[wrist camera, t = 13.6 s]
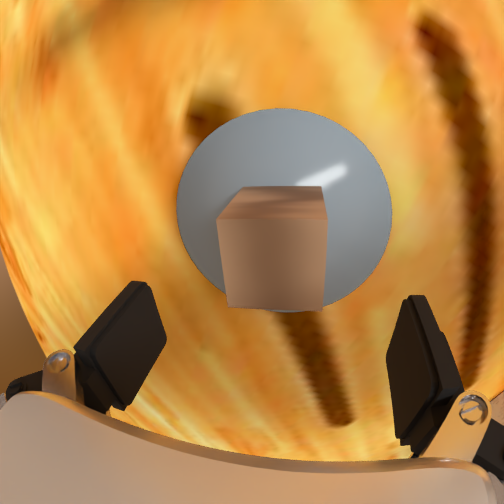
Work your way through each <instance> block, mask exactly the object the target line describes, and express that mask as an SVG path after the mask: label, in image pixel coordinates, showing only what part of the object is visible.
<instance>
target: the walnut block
mask: <svg viewBox="0 0 504 504" xmlns="http://www.w3.org/2000/svg"><path fill="white" fill-rule="evenodd" d="M216 223H217V231H218V239H219V246H220V254H221V261H222V269H223V276H224V283H225V290H226V297H227V303H228V307H234V308H250V309H269V310H294V311H322V308H323V296H324V283H325V269H326V252H327V229H328V218H327V213H326V207H325V202H324V197H323V192H322V187H321V186H251V187H242V189H241V190H240V191H239V192H238V193H237V195H236V196H235V197H234V198H233V199H232V201H231V202H230V203H229V204H228V205H227V207H226V208H225V209H224V210H223V212H222V213H221V214H220V215H219V216H218V218H217V219H216Z"/></svg>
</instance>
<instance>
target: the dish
mask: <svg viewBox="0 0 504 504" xmlns="http://www.w3.org/2000/svg"><path fill="white" fill-rule="evenodd" d="M251 186H321V187H322V192H323V197H324V202H325V207H326V213H327V218H328V229H327V252H326V269H325V283H324V296H323V307H324V306H326V305H329V304H332V303H334V302H336V301H338V300H340V299H342V298H344V297H345V296H347V295H348V294H350V293H351V292H353V291H354V290H355V289H356V288H358V287H359V286H360V285H361V284H362V283H363V282H364V281H365V280H366V279H367V278H368V277H369V276H370V274H371V273H372V272H373V270H374V269H375V268H376V266H377V265H378V263H379V261H380V259H381V257H382V255H383V253H384V251H385V249H386V246H387V243H388V240H389V236H390V230H391V224H392V205H391V197H390V193H389V188H388V184H387V182H386V179H385V177H384V174H383V172H382V169H381V168H380V166H379V164H378V163H377V161H376V159H375V158H374V156H373V155H372V154H371V152H370V151H369V150H368V149H367V147H366V146H365V145H364V144H363V143H362V142H361V141H360V140H359V139H358V138H357V137H356V136H355V135H354V134H352V133H351V132H350V131H348V130H347V129H345V128H344V127H342V126H341V125H339V124H338V123H336V122H334V121H332V120H330V119H328V118H326V117H323V116H320V115H317V114H314V113H311V112H307V111H301V110H296V109H278V108H276V109H267V110H259V111H256V112H252V113H248V114H244V115H242V116H240V117H237V118H235V119H233V120H230V121H229V122H227V123H225V124H224V125H222V126H221V127H219V128H217V129H216V130H215V131H214V132H213V133H211V134H210V135H209V136H208V137H207V138H206V139H205V140H204V141H203V142H202V143H201V144H200V145H199V146H198V147H197V149H196V150H195V152H194V153H193V155H192V156H191V158H190V159H189V161H188V163H187V165H186V167H185V169H184V171H183V174H182V177H181V180H180V184H179V188H178V194H177V220H178V226H179V230H180V234H181V238H182V240H183V243H184V246H185V248H186V250H187V252H188V254H189V256H190V258H191V259H192V261H193V262H194V264H195V265H196V266H197V268H198V269H199V270H200V272H201V273H202V274H203V275H204V276H205V277H206V278H207V279H208V280H209V281H210V282H211V283H212V284H213V285H214V286H215V287H217V288H218V289H220V290H221V291H222V292H224V293H225V294H226V290H225V283H224V276H223V269H222V261H221V254H220V246H219V239H218V231H217V223H216V219H217V218H218V216H219V215H220V214H221V213H222V212H223V210H224V209H225V208H226V207H227V205H228V204H229V203H230V202H231V201H232V199H233V198H234V197H235V196H236V195H237V193H238V192H239V191H240V190H241V189H242V187H251ZM264 310H268V311H276V312H301V311H294V310H269V309H264Z"/></svg>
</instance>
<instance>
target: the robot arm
mask: <svg viewBox="0 0 504 504" xmlns="http://www.w3.org/2000/svg"><path fill="white" fill-rule="evenodd" d="M166 340H167V337H166V333H165V330H164V327H163V324H162V322H161V319H160V315H159V312H158V309H157V306H156V303H155V300H154V297H153V293H152V290H151V288H150V286H148V285H147V283H146V282H141V281H131V282H130V283H129V284H128V285H127V286H126V287H125V288H124V289H123V291H122V292H121V293H120V294H119V295H118V296H117V297H116V298H115V299H114V300H113V302H112V303H111V304H110V305H109V306H108V307H107V308H106V309H105V311H104V312H103V313H102V314H101V315H100V316H99V317H98V319H97V320H96V321H95V322H94V323H93V324H92V325H91V327H90V328H89V329H88V330H87V331H86V333H85V334H84V335H83V336H82V337H81V338H80V340H79V341H78V342H77V343H76V345H75V346H74V347H73V348H74V349H75V351H76V353H75V354H73V353H72V352H71V351H69V350H66V349H62V350H58V351H55V352H53V353H52V354H51V355H49V356H48V358H47V359H46V360H45V362H44V366H43V370H41V371H38V372H35V373H32V374H30V375H27V376H24V377H20V378H18V379H15V380H14V381H12V382H11V383H10V384H9V386H8V388H7V390H6V395H5V394H4V393H3V394H1V395H0V504H504V426H503V425H502V424H500V423H499V422H497V421H495V420H494V419H492V418H491V416H492V407H491V404H490V402H489V400H488V399H487V397H486V396H484V395H483V394H482V393H480V392H477V391H470V390H469V391H466V392H465V391H464V388H463V384H462V381H461V378H460V375H459V372H458V369H457V366H456V364H455V361H454V358H453V355H452V353H451V350H450V347H449V345H448V342H447V340H446V337H445V335H444V333H443V332H441V331H440V329H439V327H438V324H437V322H436V320H435V317H434V315H433V313H432V310H431V308H430V306H429V304H428V301H427V299H426V297H425V296H424V295H409V296H408V298H407V299H404V300H403V302H402V305H401V309H400V312H399V316H398V319H397V323H396V326H395V329H394V332H393V335H392V338H391V341H390V344H389V347H388V350H387V354H386V364H387V371H388V377H389V384H390V391H391V399H392V407H393V416H394V426H395V436H396V438H397V439H399V438H400V445H401V446H405V445H410V446H411V451H412V454H411V455H410V457H409V458H408V459H393V460H379V461H355V462H324V461H301V460H288V459H277V458H268V457H260V456H253V455H246V454H240V453H234V452H229V451H224V450H218V449H214V448H209V447H205V446H200V445H196V444H192V443H188V442H184V441H181V440H177V439H173V438H170V437H167V436H163V435H160V434H157V433H153V432H150V431H147V430H144V429H141V428H139V427H136V426H133V425H130V424H127V423H125V422H122V421H120V420H117V419H114V418H112V417H111V414H110V407H111V405H112V406H113V407H114V408H117V409H119V410H122V411H124V410H125V409H126V407H127V405H130V404H131V403H132V401H133V400H134V398H135V396H136V394H137V393H138V391H139V389H140V387H141V386H142V384H143V382H144V380H145V379H146V377H147V375H148V373H149V372H150V370H151V368H152V366H153V365H154V363H155V361H156V360H157V358H158V356H159V354H160V353H161V351H162V349H163V348H164V346H165V344H166Z"/></svg>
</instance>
